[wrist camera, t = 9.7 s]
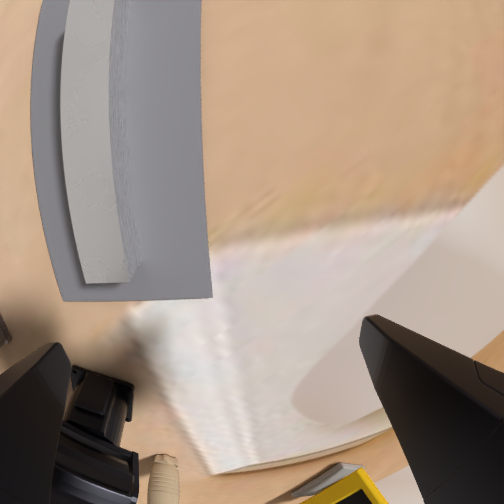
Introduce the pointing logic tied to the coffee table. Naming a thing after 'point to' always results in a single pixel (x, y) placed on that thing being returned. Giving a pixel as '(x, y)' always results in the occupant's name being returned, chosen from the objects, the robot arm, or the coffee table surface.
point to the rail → (98, 139)
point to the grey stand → (4, 333)
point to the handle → (164, 481)
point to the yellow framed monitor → (341, 487)
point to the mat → (134, 153)
